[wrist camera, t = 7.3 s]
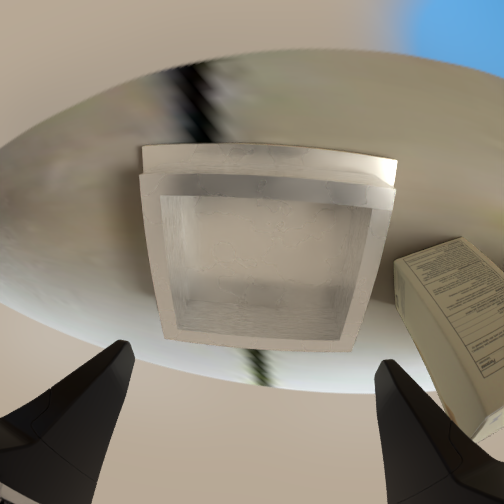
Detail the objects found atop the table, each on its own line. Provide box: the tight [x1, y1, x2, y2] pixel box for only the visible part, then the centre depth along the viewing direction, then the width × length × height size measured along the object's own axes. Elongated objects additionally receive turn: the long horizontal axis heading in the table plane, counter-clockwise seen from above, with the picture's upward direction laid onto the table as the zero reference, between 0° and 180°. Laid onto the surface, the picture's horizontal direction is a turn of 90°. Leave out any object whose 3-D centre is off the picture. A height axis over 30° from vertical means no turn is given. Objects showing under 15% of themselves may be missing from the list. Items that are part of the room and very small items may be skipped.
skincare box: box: [394, 237, 504, 444], centre depth 11 cm, size 6×4×12 cm
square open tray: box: [139, 143, 397, 352], centre depth 15 cm, size 14×12×4 cm
